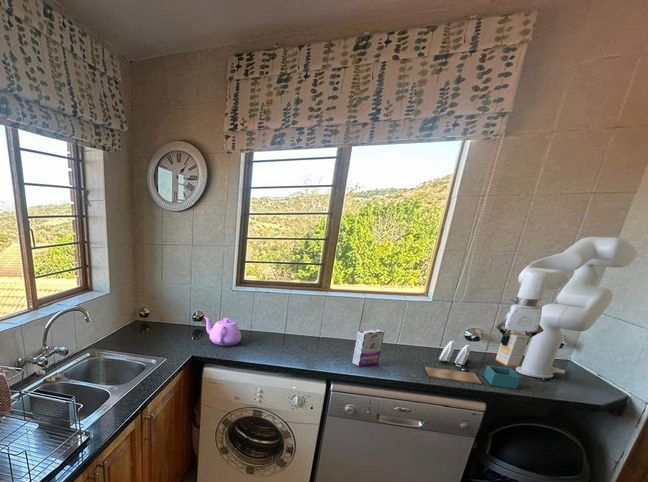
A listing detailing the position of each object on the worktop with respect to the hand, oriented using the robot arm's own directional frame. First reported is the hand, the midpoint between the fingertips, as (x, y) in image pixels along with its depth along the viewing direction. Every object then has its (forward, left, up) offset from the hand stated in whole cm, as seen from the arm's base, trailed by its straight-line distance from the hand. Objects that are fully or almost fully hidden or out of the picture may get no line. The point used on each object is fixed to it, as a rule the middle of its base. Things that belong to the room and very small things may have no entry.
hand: (513, 345), depth 166 cm
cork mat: (+17, 0, -17) cm, 24 cm away
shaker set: (+14, -20, -17) cm, 29 cm away
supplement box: (0, 0, -8) cm, 8 cm away
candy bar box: (+52, +1, -17) cm, 55 cm away
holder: (0, 0, -17) cm, 16 cm away
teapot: (+124, -2, -17) cm, 125 cm away
